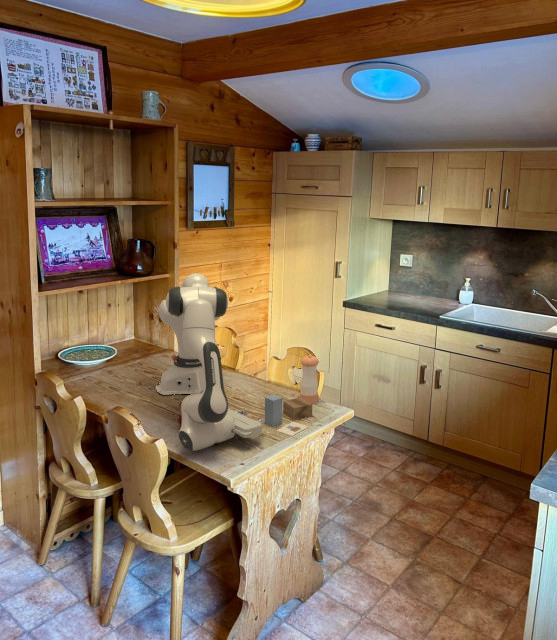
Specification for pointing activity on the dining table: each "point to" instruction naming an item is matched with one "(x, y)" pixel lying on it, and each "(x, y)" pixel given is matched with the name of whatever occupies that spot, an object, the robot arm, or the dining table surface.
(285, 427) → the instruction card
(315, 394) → the pepper shaker
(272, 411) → the gray brick
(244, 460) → the dining table surface
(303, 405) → the walnut block
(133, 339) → the dining table surface
